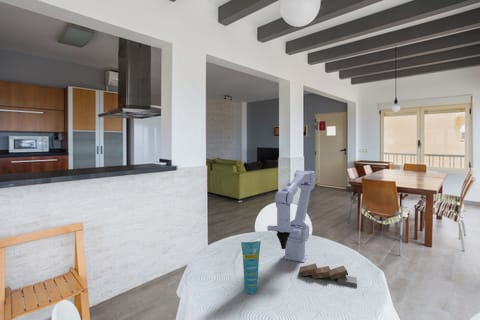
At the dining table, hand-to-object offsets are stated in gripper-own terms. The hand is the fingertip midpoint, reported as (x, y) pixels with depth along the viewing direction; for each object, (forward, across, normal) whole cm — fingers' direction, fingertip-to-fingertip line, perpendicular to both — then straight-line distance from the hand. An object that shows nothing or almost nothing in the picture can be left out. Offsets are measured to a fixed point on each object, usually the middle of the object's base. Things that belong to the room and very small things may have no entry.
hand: (283, 248), depth 112 cm
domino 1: (+9, +8, 0) cm, 12 cm away
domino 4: (+10, +23, +1) cm, 25 cm away
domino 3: (+9, +19, +1) cm, 21 cm away
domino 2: (+9, +13, 0) cm, 16 cm away
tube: (+10, -7, -21) cm, 24 cm away
